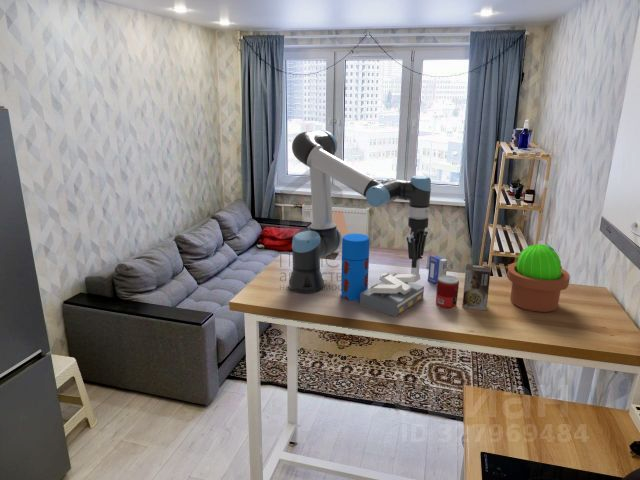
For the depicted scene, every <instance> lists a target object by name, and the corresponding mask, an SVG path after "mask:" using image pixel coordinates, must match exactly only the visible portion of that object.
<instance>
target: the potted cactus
mask: <svg viewBox="0 0 640 480" xmlns="http://www.w3.org/2000/svg"><path fill="white" fill-rule="evenodd" d="M517 256H518V257H516V258H517V261H515V262H512V263H510V264H509V265H508V267H507V274H506V276H507V279H508V280H509V281H510V282H511V284H512V285H511V290H510V296H509V297H510V298H509V299H510V301H511V303H512V304H513V305H515V306H517V307H518V308H521V309H523V310H527V311H530V312H540V313H549V312H554V311H555V310H557V309H558V307H559V301H560V296H561V291H564V290H566V289H567V288H568V287H569V285H570V278H571V275H570V274H569V272H568V271H566V270H565V269H563V266H562V264H561V262H562V261H561V260H560V256H559V254H558V252H557V250H555V249H554V248H553V247H552V246H550V245H549V244H547V243H545V244H542V243H537V244H535V243H534V244H530V245H528V246H526V247H525V248H524V249H523V250H522V251H520V253H519V254H518V255H517Z"/></svg>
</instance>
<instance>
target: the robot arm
mask: <svg viewBox="0 0 640 480" xmlns="http://www.w3.org/2000/svg"><path fill="white" fill-rule="evenodd" d="M291 150H292V153H293V156H294V157H295V158H296V159H297V161H299V162H300V163H302V164H303V165H304V166H307V167H308V168H309V177H310V194H311V195H310V196H311V210H312V223H311V224H310V226H309V230H305V231H299V232H298V233H296V234H294V236H293V237H292V243H291V248H292V255H291V256H292V271H291V274H290V278H289V280H288V288H289V290H291V291H293V292H295V293H299V294H313V293H318V292H320V291H322V290H324V288H325V280H324V278H323V275H322V272H321V259H323V258H325V257H327V256H328V255H331V254H334V252H336V251H337V250H339V249H340V247H341V246H342V239H343V236H342V234H341V232H340V231H339V228H337V224H336V223H335V222H334V221H333V206H332V205H333V201H332V185H331V183H332V182H331V178H332V179H334V180H335V181H337V182H339V183H340V184H342V185H344V186H346V187H347V188H349V189H351V190H352V191H354V192H356V193H357V194H359V195H361V196H362V197H365V200H366V202H367V204H369V206H372V207H373V208H377V207H378V208H379V207H381V206H382V207H383V206H386V204H388V203H391V202H393V201H396V200H400V201H401V200H402V201H409V204H408V208H409V209H408V216H409V217H408V219H407V221H408V222H407V223H408V224H407V225H408V227H409V228H410V232H409V233H410V235H409V236H406V242H407V250H408V251H407V252H408V254H407V255H408V259H410V260H411V265H410V266H411V267H410V268H411V269H410V274H413V275H416V276H417V275H419V274H420V263H421V260H422V259H423V255H424V251H425V246H426V241H427V236H428V233H429V232H428V231H426V229H427V228H428V227H429V215H430V211H431V210H430V202H431V192H432V191H431V190H432V188H431V187H432V180H431V178H430V177H429V176H427V175H413V176H411V178H410V180H404V179H397V178H396V179H395V178H391V177H390V178H384V179H382V180H381V181H379V180H377V179H376V178H374V177H372V176H370V175H368V174H367V173H365V172H364V171H362V170H359V169H358V168H356V167H354V166H352V165H351V164H350V163H348V162H346V161H344V160H342V159H341V158H338V157H337V156H335V154H336V153H337V150H338V142H337V139H336V137H335V135H334V134H332V132H330V131H328V130H323V129H318V130H310V131H303V132H300V133H299V134H297V135H296V136H295V137H294V139H293V141H292V145H291Z"/></svg>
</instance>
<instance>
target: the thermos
mask: <svg viewBox="0 0 640 480" xmlns="http://www.w3.org/2000/svg"><path fill="white" fill-rule="evenodd" d="M370 242H371V241H370V237H369V236H368V235H367V234H364V233H348V234H345V235H343V236H342V241H341V279H340V281H341V282H340V283H341V285H340V286H341V287H340V288H341V289H340V290H341V297H342V298H344V299H345V300H349V301H354V302H355V301H360V293H361V292H363V291H365V290H367V289H369V265H370V263H369V261H370Z"/></svg>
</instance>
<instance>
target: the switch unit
mask: <svg viewBox="0 0 640 480" xmlns="http://www.w3.org/2000/svg"><path fill="white" fill-rule="evenodd" d="M404 283H406V284H407V285H409V286H411V290H410V292H408V293H406V294H405V295H404V294H402V293H401V292H398V293H370V289H369V288H368V289H367V290H365V291H363V292H361V293H360V300H359V305H360V306H362V307H366V308H368V309H371V310H374V311H377V312H380V313H382V314H383V313H384V314H385V315H389V316H392V317H394V318H395V317H397V316H398V315H400V314H401V313H403V312H404V311H405V310H407V309H409V308H410V307H412V306H414V305H415V304H416V303H417V302H419V301H420V300H422V299H423V298H424V291H425V286H424V285H421V284H417V283H415V282H404ZM377 284H378V285H387V284H385V283H384V282H382V281H379V282H378V283H377Z"/></svg>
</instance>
